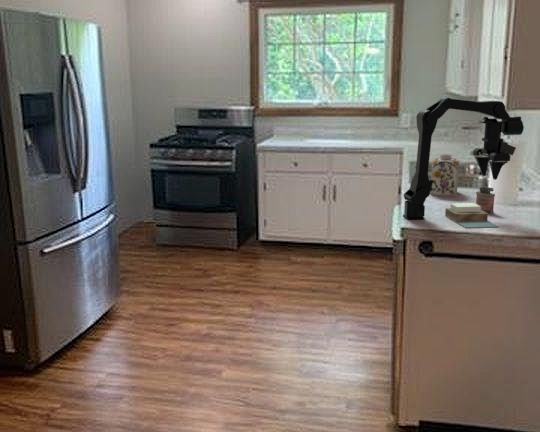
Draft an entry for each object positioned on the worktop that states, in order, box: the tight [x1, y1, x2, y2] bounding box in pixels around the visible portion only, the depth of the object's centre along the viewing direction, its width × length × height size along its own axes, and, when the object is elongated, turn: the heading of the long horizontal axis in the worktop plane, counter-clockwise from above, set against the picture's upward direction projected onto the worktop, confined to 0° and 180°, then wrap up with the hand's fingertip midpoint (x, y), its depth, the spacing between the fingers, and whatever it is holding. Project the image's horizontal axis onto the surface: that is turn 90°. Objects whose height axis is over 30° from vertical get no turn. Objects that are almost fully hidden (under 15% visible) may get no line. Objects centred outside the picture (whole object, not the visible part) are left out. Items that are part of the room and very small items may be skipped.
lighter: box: [475, 185, 496, 215], centre depth 229 cm, size 8×3×10 cm, turn 31°
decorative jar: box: [429, 153, 460, 197], centre depth 265 cm, size 12×12×18 cm
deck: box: [444, 207, 489, 223], centre depth 218 cm, size 12×10×3 cm
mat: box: [454, 220, 499, 229], centre depth 209 cm, size 12×9×1 cm
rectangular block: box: [450, 202, 481, 212], centre depth 219 cm, size 9×6×2 cm, turn 95°
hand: (489, 177), depth 219 cm, fingers open, 9 cm apart
